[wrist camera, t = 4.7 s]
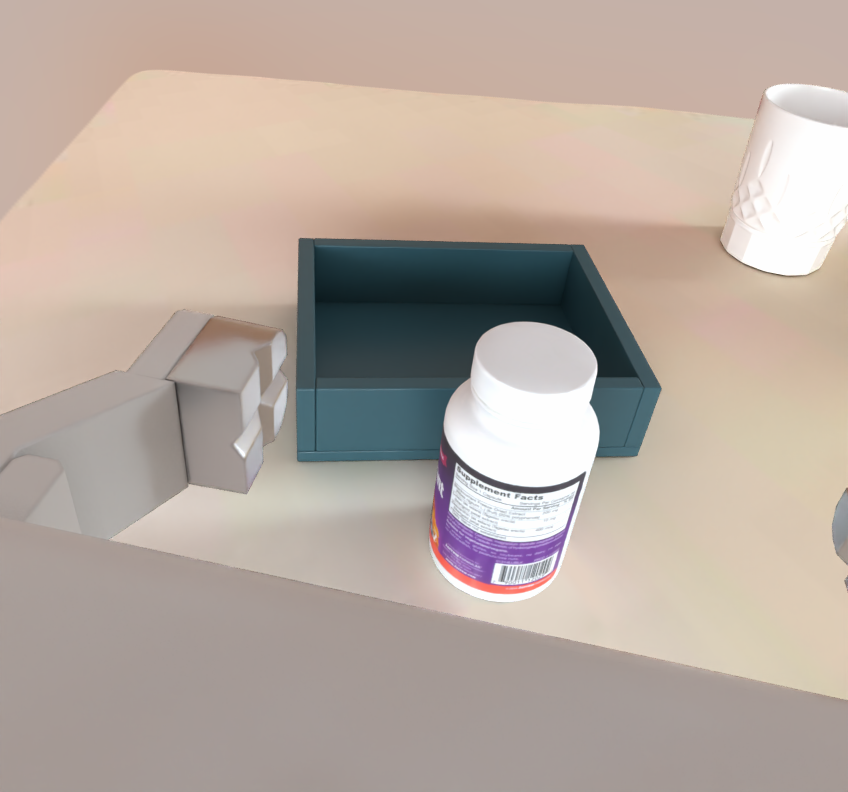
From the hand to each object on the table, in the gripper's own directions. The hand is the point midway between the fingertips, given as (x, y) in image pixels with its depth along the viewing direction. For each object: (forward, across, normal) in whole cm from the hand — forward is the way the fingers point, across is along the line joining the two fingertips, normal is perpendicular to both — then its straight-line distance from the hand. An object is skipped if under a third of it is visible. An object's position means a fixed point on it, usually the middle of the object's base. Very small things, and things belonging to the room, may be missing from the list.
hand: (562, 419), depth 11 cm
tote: (+23, +3, +17) cm, 29 cm away
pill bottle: (+12, 0, +17) cm, 21 cm away
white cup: (+43, -16, +17) cm, 49 cm away
